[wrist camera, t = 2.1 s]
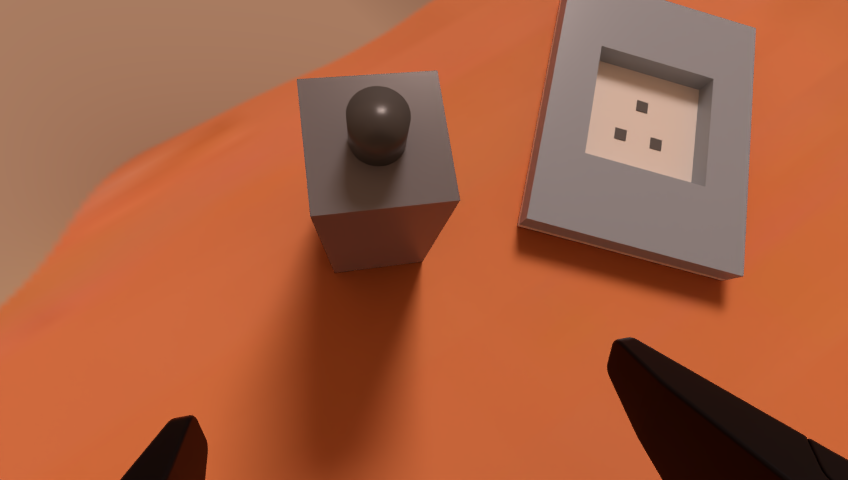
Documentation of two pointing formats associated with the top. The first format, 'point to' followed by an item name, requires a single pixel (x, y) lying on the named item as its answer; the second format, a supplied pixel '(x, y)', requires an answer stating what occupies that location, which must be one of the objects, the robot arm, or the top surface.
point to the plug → (377, 166)
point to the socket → (645, 134)
